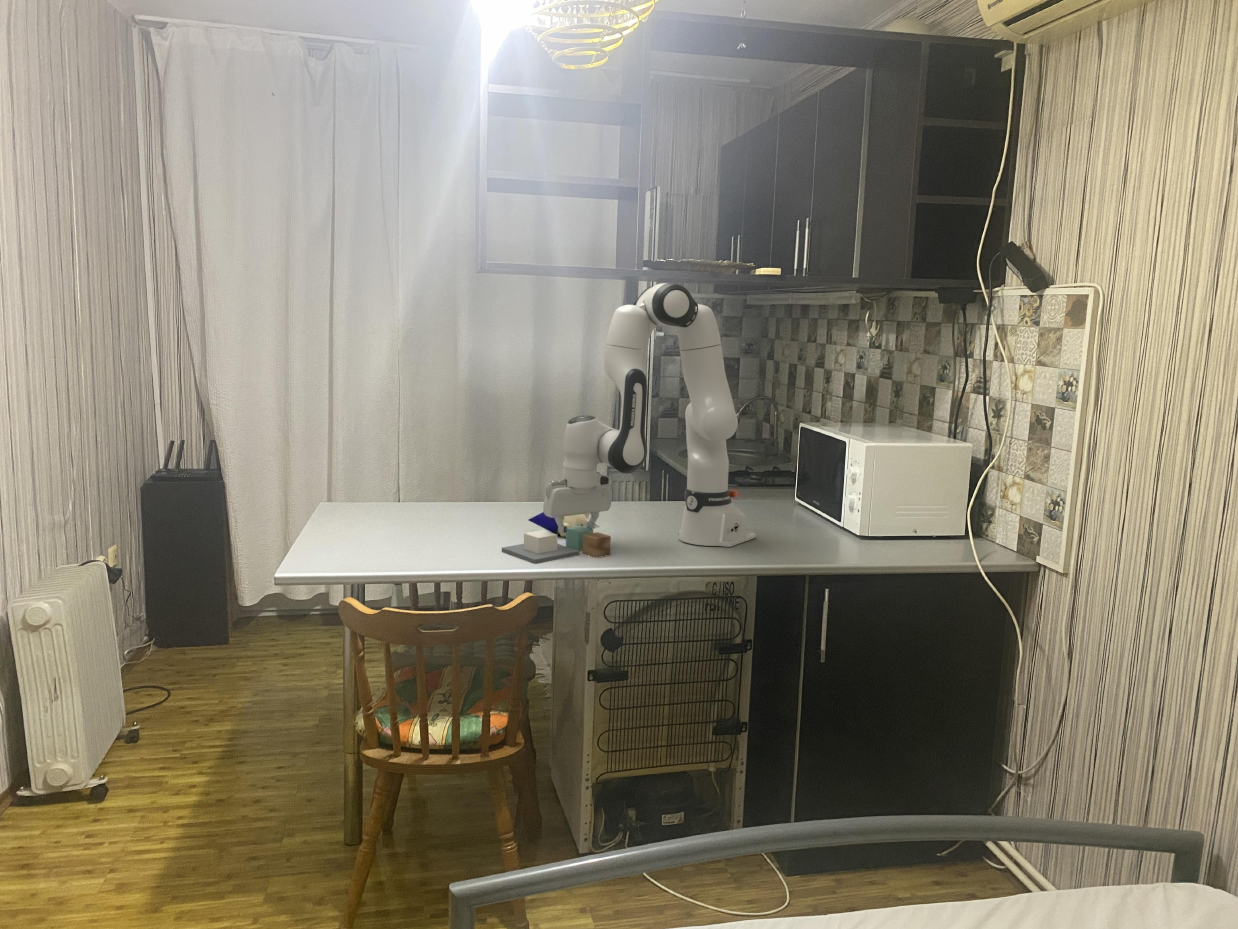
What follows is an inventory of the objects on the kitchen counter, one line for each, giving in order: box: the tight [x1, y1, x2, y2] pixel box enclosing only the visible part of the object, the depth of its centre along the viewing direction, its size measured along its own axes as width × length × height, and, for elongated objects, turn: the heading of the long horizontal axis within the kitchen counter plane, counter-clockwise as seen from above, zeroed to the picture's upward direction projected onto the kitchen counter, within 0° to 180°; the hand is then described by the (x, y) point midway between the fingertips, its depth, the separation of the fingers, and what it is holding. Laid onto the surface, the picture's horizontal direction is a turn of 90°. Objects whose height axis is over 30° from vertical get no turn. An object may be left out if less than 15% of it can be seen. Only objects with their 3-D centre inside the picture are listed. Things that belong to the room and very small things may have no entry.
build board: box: [501, 529, 580, 564], centre depth 233 cm, size 14×14×5 cm
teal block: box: [565, 526, 594, 551], centre depth 240 cm, size 5×5×5 cm
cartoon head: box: [527, 511, 600, 538], centre depth 253 cm, size 9×10×20 cm
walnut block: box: [582, 532, 612, 559], centre depth 234 cm, size 5×5×5 cm
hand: (576, 530), depth 240 cm, fingers open, 8 cm apart
